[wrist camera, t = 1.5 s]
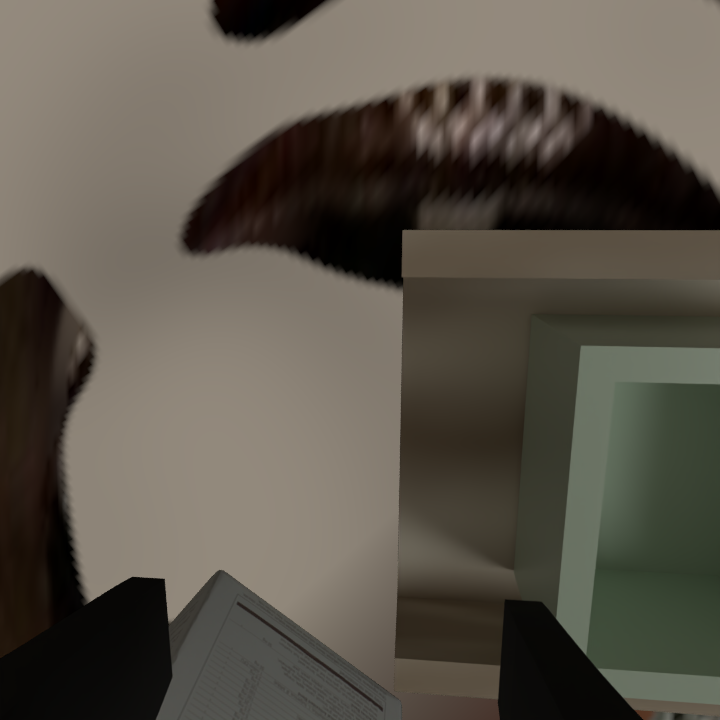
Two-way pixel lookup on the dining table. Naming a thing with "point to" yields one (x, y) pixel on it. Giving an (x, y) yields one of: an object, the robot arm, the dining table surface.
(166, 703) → the supplement box
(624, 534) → the box
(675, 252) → the bay
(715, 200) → the dining table surface
